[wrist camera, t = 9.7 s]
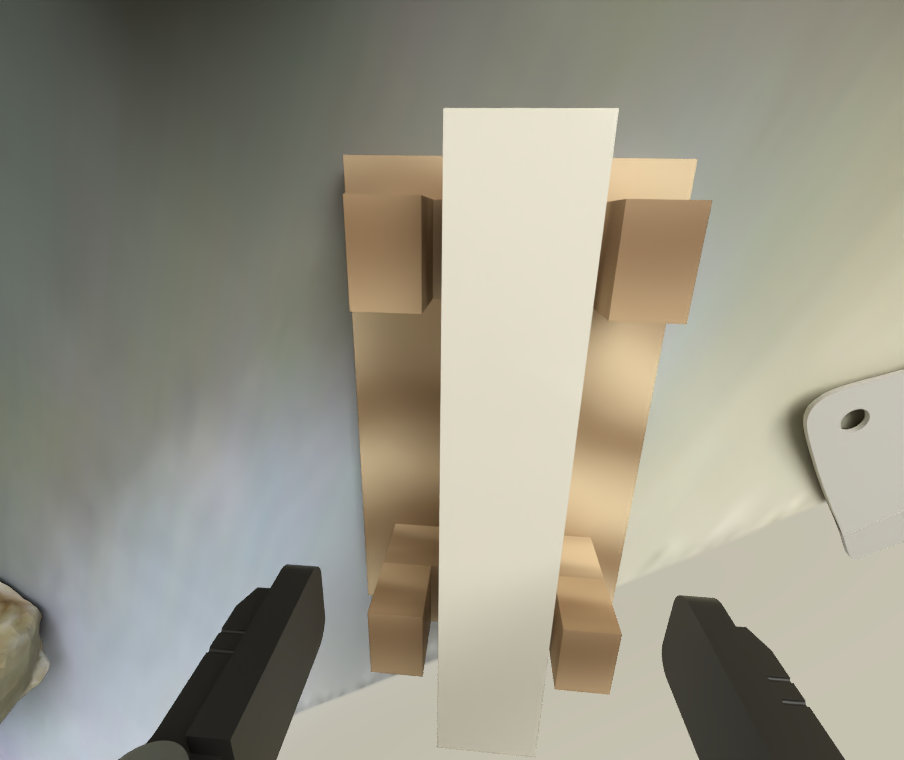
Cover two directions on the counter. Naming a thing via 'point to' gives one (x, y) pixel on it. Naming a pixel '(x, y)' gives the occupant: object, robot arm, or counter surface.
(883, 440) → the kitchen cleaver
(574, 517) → the wooden plate with pegs
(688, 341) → the counter surface
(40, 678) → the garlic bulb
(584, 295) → the cream white rectangular bar
